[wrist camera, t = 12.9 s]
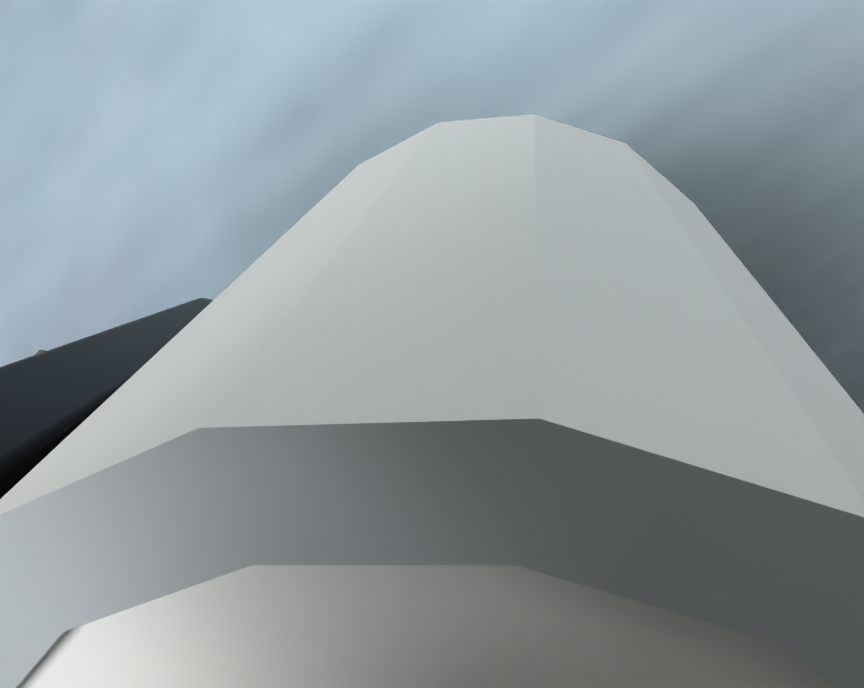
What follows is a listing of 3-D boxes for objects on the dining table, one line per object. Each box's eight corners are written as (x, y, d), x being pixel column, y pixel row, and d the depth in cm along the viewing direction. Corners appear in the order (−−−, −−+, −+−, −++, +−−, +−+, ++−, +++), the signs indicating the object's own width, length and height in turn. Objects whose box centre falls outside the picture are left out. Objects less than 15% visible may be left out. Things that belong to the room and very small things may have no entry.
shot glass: (586, 592, 13) (623, 1229, 7) (181, 401, 12) (-191, 943, 6) (908, 239, 9) (1550, 881, 3) (379, -66, 9) (-17, 85, 2)
